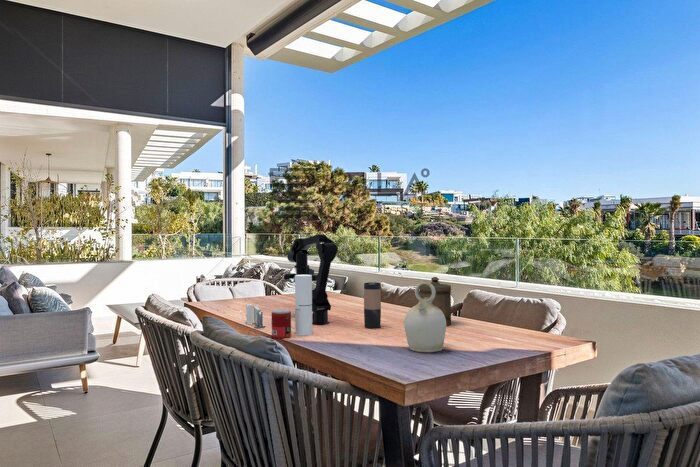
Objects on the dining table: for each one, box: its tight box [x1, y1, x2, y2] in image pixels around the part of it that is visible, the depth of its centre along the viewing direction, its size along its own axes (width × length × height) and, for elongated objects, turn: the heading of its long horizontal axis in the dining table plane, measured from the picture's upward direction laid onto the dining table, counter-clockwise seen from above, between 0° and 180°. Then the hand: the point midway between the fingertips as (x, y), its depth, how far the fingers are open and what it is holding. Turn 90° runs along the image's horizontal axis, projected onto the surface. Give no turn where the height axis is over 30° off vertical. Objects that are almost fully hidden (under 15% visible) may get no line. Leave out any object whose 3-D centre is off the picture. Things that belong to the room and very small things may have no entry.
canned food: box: [271, 308, 292, 340], centre depth 211 cm, size 8×8×11 cm
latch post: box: [245, 303, 254, 325], centre depth 243 cm, size 6×3×9 cm, turn 25°
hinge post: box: [253, 311, 267, 329], centre depth 231 cm, size 4×4×7 cm
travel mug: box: [363, 281, 382, 330], centre depth 230 cm, size 8×8×20 cm
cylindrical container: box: [294, 275, 313, 337], centre depth 216 cm, size 7×7×25 cm
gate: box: [253, 305, 262, 325], centre depth 239 cm, size 12×2×7 cm, turn 20°
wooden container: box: [419, 276, 452, 327], centre depth 238 cm, size 15×15×22 cm
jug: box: [403, 280, 447, 354], centre depth 188 cm, size 15×16×25 cm
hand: (301, 294), depth 255 cm, fingers closed
